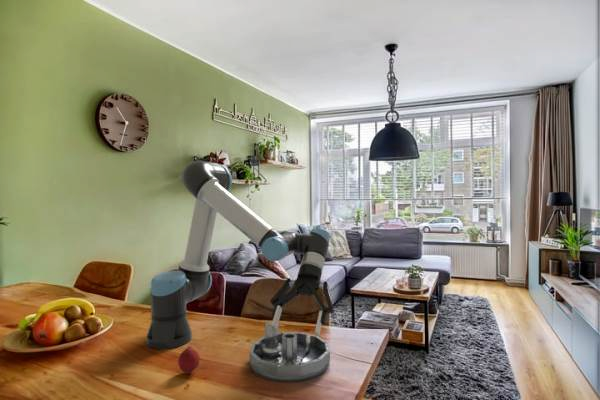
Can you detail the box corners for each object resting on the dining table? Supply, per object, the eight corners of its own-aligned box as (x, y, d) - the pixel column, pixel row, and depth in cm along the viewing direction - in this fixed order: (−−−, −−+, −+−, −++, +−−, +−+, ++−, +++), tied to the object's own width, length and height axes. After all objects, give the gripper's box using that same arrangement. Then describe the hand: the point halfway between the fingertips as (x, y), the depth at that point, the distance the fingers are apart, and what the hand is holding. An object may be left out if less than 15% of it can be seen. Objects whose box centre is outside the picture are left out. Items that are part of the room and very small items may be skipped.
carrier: (245, 383, 97) (244, 344, 97) (255, 345, 121) (254, 315, 121) (333, 381, 98) (333, 343, 97) (325, 344, 122) (325, 314, 121)
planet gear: (276, 374, 99) (275, 341, 99) (277, 361, 107) (277, 331, 106) (303, 373, 99) (302, 341, 99) (302, 360, 107) (302, 330, 107)
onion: (193, 379, 100) (192, 350, 100) (174, 377, 101) (174, 349, 101) (203, 369, 105) (202, 342, 105) (185, 367, 106) (184, 340, 106)
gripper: (350, 278, 117) (338, 342, 103) (279, 272, 125) (260, 330, 112) (346, 265, 112) (334, 330, 98) (273, 260, 120) (252, 319, 107)
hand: (295, 330), depth 105 cm, fingers open, 13 cm apart
